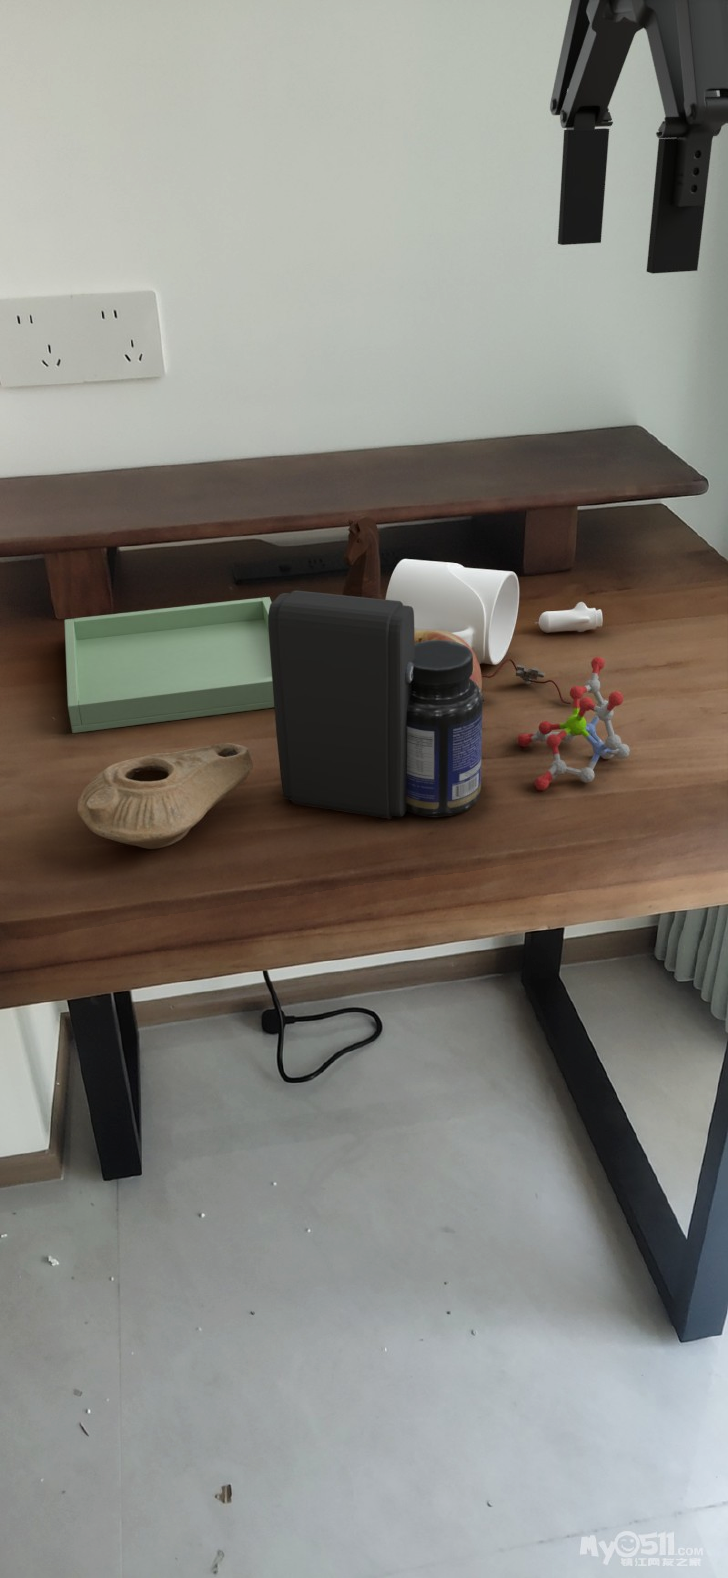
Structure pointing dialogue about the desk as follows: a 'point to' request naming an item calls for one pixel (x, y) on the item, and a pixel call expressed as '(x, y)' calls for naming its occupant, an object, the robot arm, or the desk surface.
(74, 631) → the tray
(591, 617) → the small white plastic part
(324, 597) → the dark grey rectangular block
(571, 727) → the molecular model
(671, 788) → the desk surface
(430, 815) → the pill bottle
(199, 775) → the pottery oil lamp
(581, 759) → the desk surface
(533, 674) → the pendant
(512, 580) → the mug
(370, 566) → the chess piece
